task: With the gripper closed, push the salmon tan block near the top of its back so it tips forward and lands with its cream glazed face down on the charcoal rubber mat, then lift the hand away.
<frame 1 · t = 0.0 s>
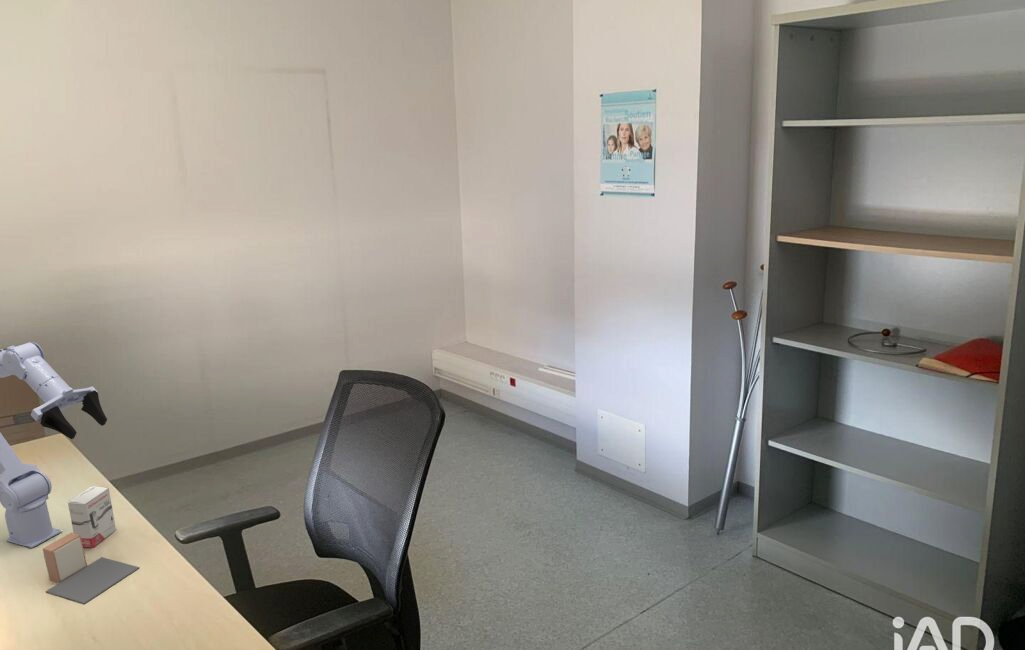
hand: (89, 429, 172), 32 cm above the table, tool tilted 50°, fingers open, 7 cm apart
ink box: (97, 538, 190), on the table
rubber mat: (93, 580, 173), on the table
salmon tan block: (68, 573, 176), on the table
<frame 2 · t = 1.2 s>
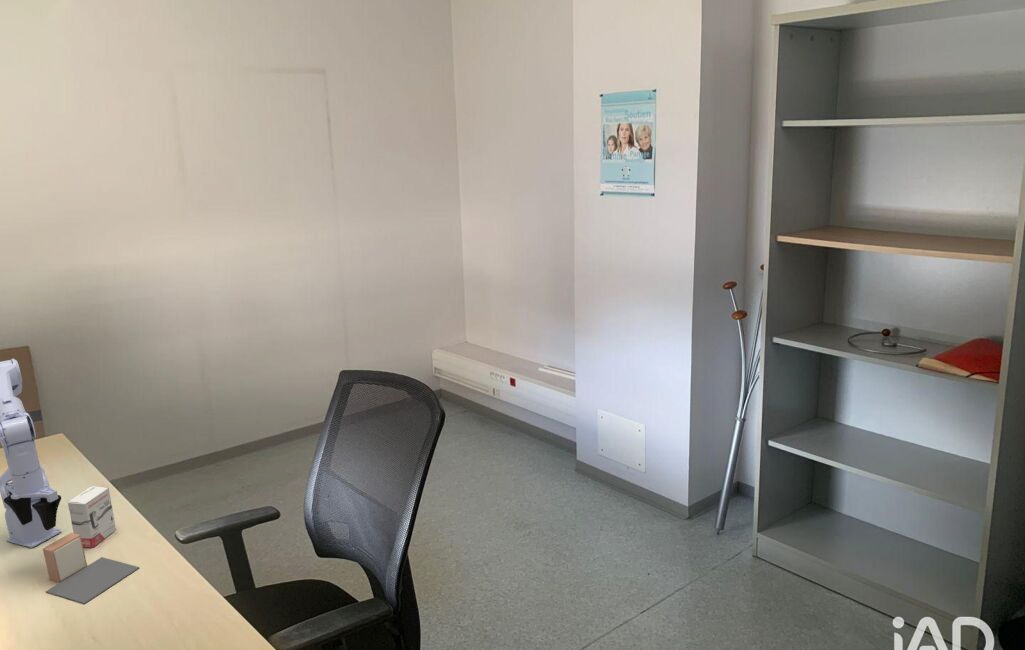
hand: (38, 525, 176), 11 cm above the table, tool pointing down, fingers open, 7 cm apart
nothing on the table moved.
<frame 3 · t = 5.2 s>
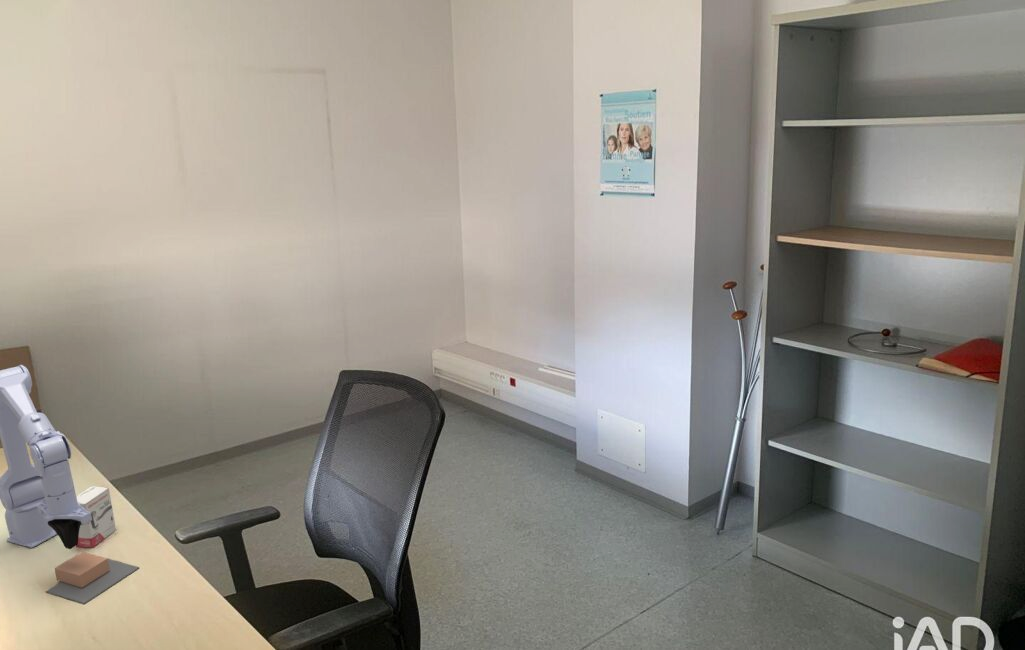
hand: (71, 546, 173), 7 cm above the table, tool pointing down, fingers closed
salmon tan block: (70, 565, 175), point 2 cm above the table, tilted 90°, touching rubber mat
everything else where it was.
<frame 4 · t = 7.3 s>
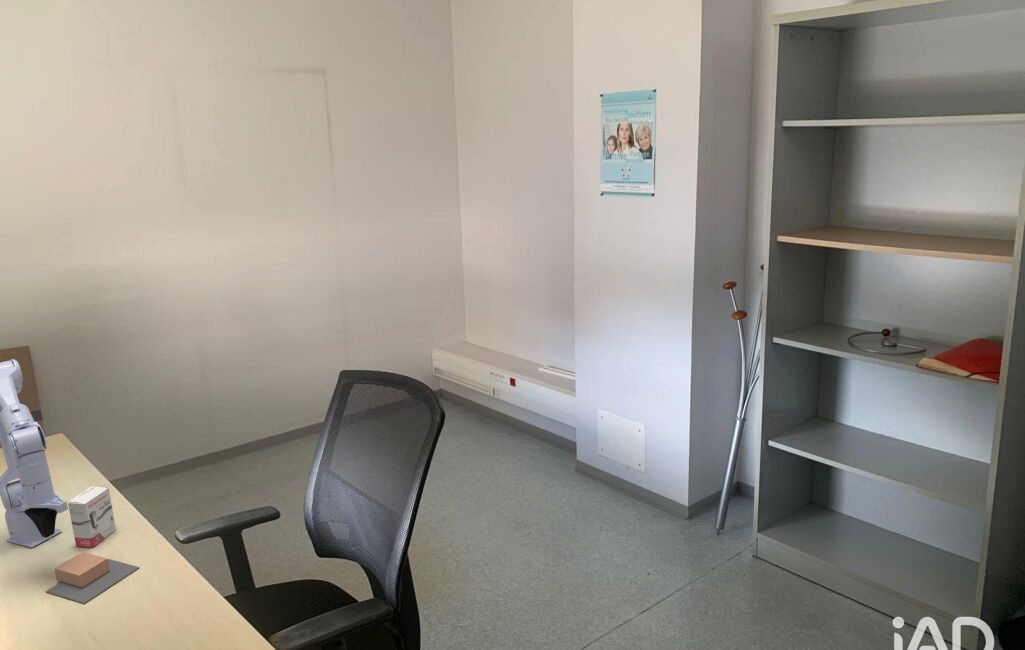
hand: (48, 535, 175), 9 cm above the table, tool pointing down, fingers closed
nothing on the table moved.
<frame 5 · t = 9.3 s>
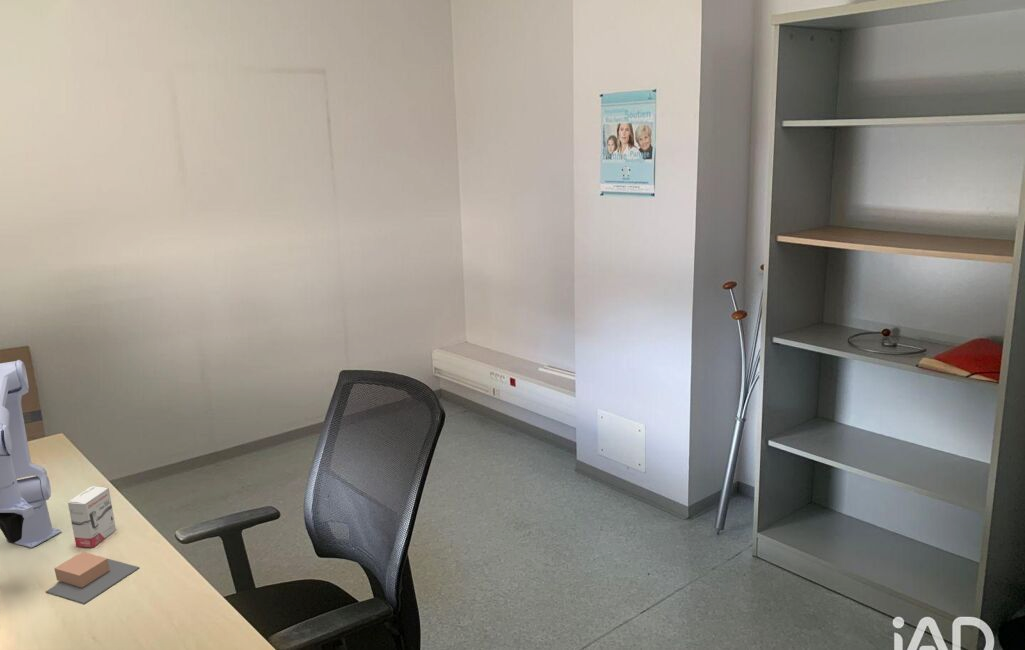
hand: (15, 540, 170), 10 cm above the table, tool pointing down, fingers closed
nothing on the table moved.
at the end: salmon tan block tilted 90°; salmon tan block inside the target area (2.6 cm from its centre), point 2.0 cm above the table; salmon tan block touching rubber mat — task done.
